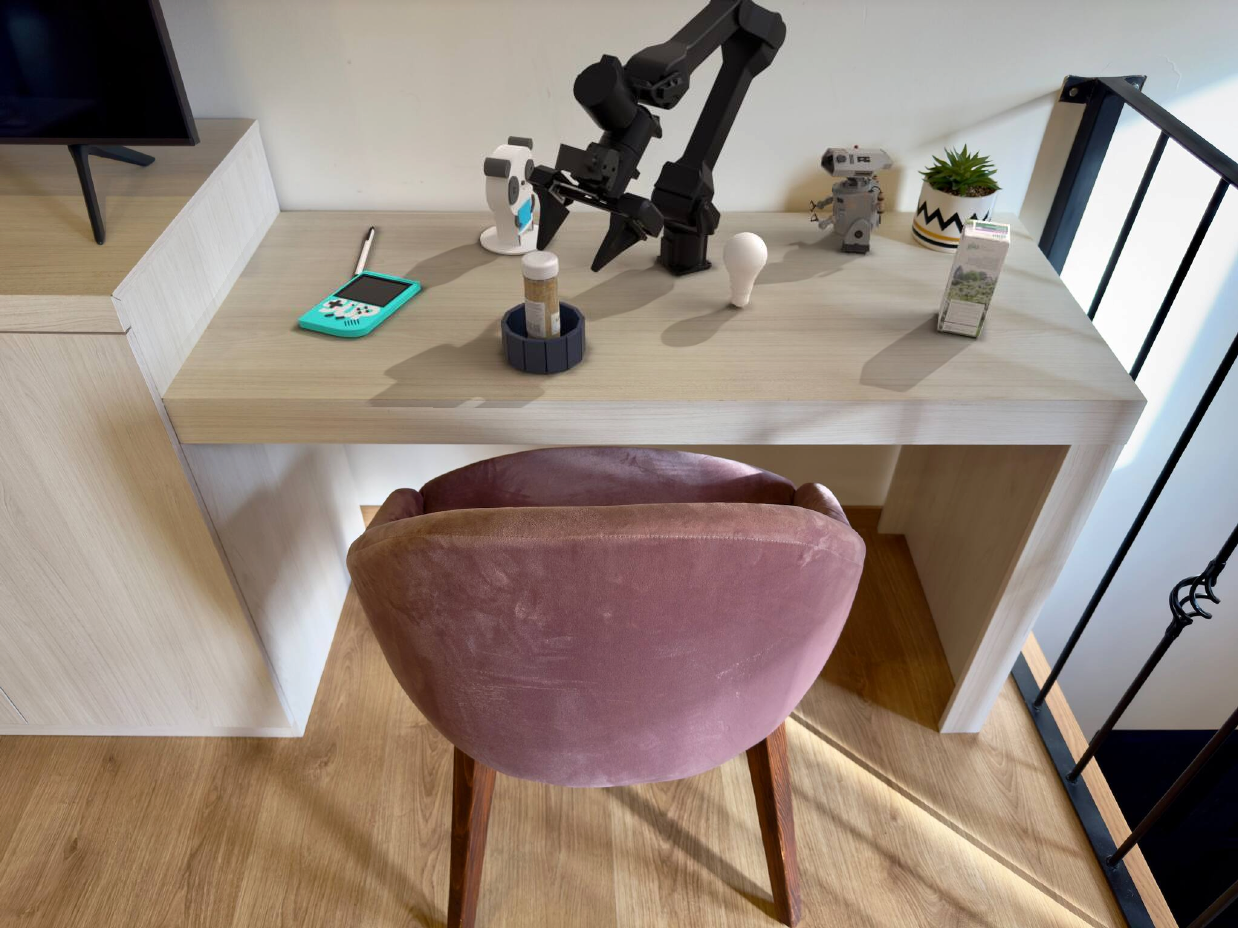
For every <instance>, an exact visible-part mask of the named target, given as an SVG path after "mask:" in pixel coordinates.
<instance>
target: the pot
mask: <svg viewBox="0 0 1238 928" xmlns="http://www.w3.org/2000/svg"><path fill="white" fill-rule="evenodd" d="M559 317H560V337H556V338H551V339H546V340H541V339H530V338H528V332H527V325H526V312H525V302H522V303H519V304H516V305H515V306H513V307H511V308H510V309H508V310H506V311H504V314H503V316H502V318H501V320H500V328H501V329H500V330H501V331H500V332H501V343H502V353H503V356H504V359H505V361H506V362H507V364H508V365H509V366H511V367H513V368H515V369H516V370H519V371H521V372H523V373H527V374H537V375H538V374H539V375H551V374H557V373H561V372H566V371H567V370H570V369H572V368H573V367H575V366H577V365H578V364H580V363H581V362H582V361H583V359H584V356H585V353H586V318H585V316H584V315H583V313H582V312H581V310H580V309H579V308H578V307H576V306H574V305H571V304H569V303H567V302H564V301H560V300H559Z"/></svg>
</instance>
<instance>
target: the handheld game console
mask: <svg viewBox="0 0 1238 928" xmlns="http://www.w3.org/2000/svg"><path fill="white" fill-rule="evenodd" d="M421 289H422V288H421V282H420V281H417V280H413V279H408V278H404V277H399V276H393V275H389V274H384V273H380V272H376V271H370V270H362V273H360V274H359V275H357V276H356V277H355V278H354V277H353V278H352V279H351V280H350V281H348V282H347V283H345V284H344V285H342V286H341V287H340V288H338V289H337V290H336V291H334V292H333V293H332V294H330V295H329V296H328V297H326V298H325V299H324V300H322V301H320V303H318V304H317V305H315V306H314V307H312V309H310V310H309V311H307V312H306V313H304V314H303V315H301V316H300V317H299V318H298V319H297V320H298V324H299V327H300V328H302V329H306V330H310V331H315V332H319V333H324V334H327V335H332V336H337V337H342V338H359V337H364V336H366V335H368V334H370V332H372V331H373V330H374V329H375V328H377V327H378V326H379V325H380V324H381V323H383V322H384V321H385V320H386V319H387V318H389V317H390V316H391V315H392V314H393V313H394V312H395V311H397V310H398V309H399V308H401V307H402V306H403V305H404V304H405V303H406V302H408V301H409V300H410V299H411V298H412V297H414V296H415V295H416V294H418V293H419V292H420V291H421Z"/></svg>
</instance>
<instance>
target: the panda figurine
mask: <svg viewBox="0 0 1238 928" xmlns="http://www.w3.org/2000/svg"><path fill="white" fill-rule="evenodd" d="M533 148H534V143H533V139H532V138H531V137H522V136H515V135H513V136H512V135H510V136H509V137H508V139H507V144H505V143H504V144H501V145H499V146H498V147H496V148H495V150H494V151H493V153H492V154H491V156H490V157H489V156H488V157H485V159H484V162H483V173H484V176H485V198H486V203H487V205H488V207H489V209H490V210H491V211H492V212H493V214H494V220H495V225H494V226H491V227H489V228H487V229H486V230H484V231H483V232H482V233H481V235H480V238H479V239H480V244H481V246H482V247H483V248H484V249H485V250H488V251H489V252H492V253H496V254H499V255H507V256H510V255H511V256H517V255H518V256H519V255H526V254H528V253H530V252H535V251H539V250H537V249H536V243H537V235H538V227H539V224H535V223H534V217H533V212H534V211H535V207H536V196H535V193H533V186H532V185H531V184H530V183H529V182H527V180H528V178H529V176H530V174H531V172H532V170H533V168H534V167H536V166H535V161H534V159H533V155H532V154H533V153H532V151H533Z"/></svg>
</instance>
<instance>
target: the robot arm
mask: <svg viewBox="0 0 1238 928" xmlns="http://www.w3.org/2000/svg"><path fill="white" fill-rule="evenodd" d="M786 36H787V25H786V23H785V21H784V20H783V17H782V15H781V13H780V12H778V11H773V10H769V9H768V8H765V7H764V6H762V5H759V4H757V3H756V2H754V0H709V2H708V4H707V5H706V6H704V7H703V8H702V9H701V10H700V11H699V12H698V13H697V14H696V15H694V16H693V17H692V18H691V19H690V20H689V21H688V22H686V24H685V25H684V26H683V27H681V28H680V29H679V30H678V31H677V32H676V33H674V35H672V36H671V38H670V39H668V40H667V41H665V42H663V43H658V44H655V45H654V44H653V45H650V46H646V47H644V48H643V49H641V50H640V51H638V52H636V53H634V54H633V55H631V57H630V58H629V59H628V60H627V62H625V64H623V63H622V62H621V60H620V59H619V57H618V56H616V55H612V54H608V53H607V54H606V53H603V54H602V56H601V57H600V60H599V61H598V62H594V63H592V64H590V65H588V66H586V67H585V68H584V69H583V70H582V71H581V72H580V73H578V74H577V75H576V77H575V80H574V83H573V88H572V92H573V97H574V99H575V101H576V102H577V103H578V104H579V105H580V107H581V108H582V109H583V110H584V112H585V113H586V114H587V115H588V116H589V118H590V119H591V120H592V122H593V123H594V124H595V125H596V126H597V127H598V128H599V129H600V130H602V131H603V133H602V135H601V137H600V138H599V141H598V142H595V141H591V142H590V143H589V144H588V145H587V147H586V149H581V148H578V147H575V146H572V145H569V144H565V143H562V142H560V145H559V149H558V152H557V156H556V161H555V164H554V168H553V167H550V166H547V165H543V164H539V165H536V166H535V167H534V168H533V170H532V172H531V174H530V176H529V178H528V180H527V182H529V183H530V184H531V185H532V186H533V190H532V193H533V194H535V195H536V196H537V199H538V203H539V220H538V226H539V227H538V235H537V243H536V249H537V250H538V251H545V250H546V248H547V247H548V246H549V244H550V243H551V241H552V240H553V238H554V237H555V235H556V234H557V233H558V231H559V229H560V228H561V227H562V225H563V224H564V222H565V221H566V219H567V217H568V216H569V214H570V213H571V211H570V210H569V209H568V207H569V206H571V205H573V204H574V202H577V203H581V204H582V205H583V204H584V205H587V206H590V207H593V208H595V209H598V210H602V211H604V212H608V213H610V214H609V225H608V229H607V231H606V234H605V235H604V238H603V240H602V241H601V243H600V245H599V248H598V250H597V252H596V254H595V256H594V258H593V260H592V263H591V266H590V270H591V271H592V273H595V274H597V273H598V272H599V271H601V270H602V269H603V268H605V266H607V265H608V264H609V263H611V262H612V261H614V260H615V259H616V258H617V257H618V256H619V255H621V254H622V253H624V252H625V251H627V250H628V249H630V248H632V246H634V245H635V244H637V243H639V242H641V241H644V242H647V240H648V238H649V237H651V238H654V239H657V238H659V236H660V234H661V232H662V236H661V237H660V244H659V245H660V246H659V247H660V248H659V255H656V260H657V261H658V262H659V263H660V264H661V265H663V266H664V267H665V268H667V269H668V270H669V271H670V272H672V273H673V274H674V275H676V276H682V275H687V274H690V273H694V272H698V271H702V270H705V269H706V270H707V269H709V268H712V267H713V263H712V262H711V261H710V260H709V259H707V256H708V255H707V253H708V243H709V236H713V235H715V232H716V230H717V229H718V228H719V225H720V220H721V217H722V214H721V213H720V211H719V210H718V208H717V207H716V205H715V204H714V203H713V199H714V196H715V185H714V176H713V172H714V168H715V166H716V164H717V163H718V159H719V157H720V155H721V152H722V151H723V148H724V146H725V143H726V141H727V139H728V137H729V134H730V132H731V129H732V127H733V125H734V123H735V120H736V119H737V116H738V113H739V111H740V109H741V106H742V104H743V102H744V100H745V97H746V95H747V93H748V91H749V89H750V86H751V84H752V81H753V80H754V78H756V77H757V76H759V75H760V74H761V73H763V71H765V70H766V69H767V68H769V67H770V66H771V65H772V63H773V61H774V59H775V58H776V56H777V54H778V52H779V51H780V49H781V48H782V47H783V45H784V42H785V40H786V38H787V37H786ZM719 47H720V50H721V51H720V52H721V59H722V63H721V65H720V68H719V70H718V73H717V75H716V77H715V80H714V82H713V84H712V86H711V89H710V91H709V94H708V96H707V97H706V99H705V102H704V105H703V107H702V109H701V112H700V115H699V116H698V118H697V121H696V123H695V125H694V128H693V130H692V133H691V135H690V138H689V140H688V142H687V145H686V146H685V149H684V150H683V154H682V155H681V156H680V157H679V158H678V159H677V160H676V161H669V160H667V161H665V162H664V163H663V165H662V167H661V169H660V173H659V176H658V178H657V180H655V183H654V184H653V187H654V188H653V190H652V191H651V195H650V198H648V197H645V196H642V195H637V194H635V193H632V192H628V191H626V189H627V188H628V186H629V183H630V182H631V180H632V179H633V180H636V181H638V179H639V177H640V175H641V172H640V170H639V169H638V166H639V164H640V161H641V159H642V158H643V156H644V154H645V152H646V150H647V148H648V145H649V143H650V142H651V140H652V138H655V139H659V140H661V139H662V138H663V128H662V125H661V117H660V116H659V115H657V114H653V113H652V112H651V110H650V109H649V108H648V107H646V106H649V107H652V108H656V109H660V110H666V111H670V110H672V109H674V108H675V107H676V106H677V105H679V102H680V101H681V100H682V99H683V97H684V96H685V94H686V93H688V91H689V89H690V84H691V76H692V74H693V73H694V72H695V71H696V69H697V68H699V67H700V66H701V65H702V64H703V63H704V62H705V61H706V60H707V59H708V58H709V57H710V56H711V55H712V54H713V53H714V52H715V51H716V50H717V49H718V48H719ZM563 171H564V172H567V173H569V177H570V178H571V179H572V180H573V181H575V182H577V183H578V184H575V183H573V182H572V181H571V180H570V179H569V178H568V177H567V176H566V175H565V174H564V173H563ZM662 230H663V231H662ZM648 236H649V237H648Z"/></svg>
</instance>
